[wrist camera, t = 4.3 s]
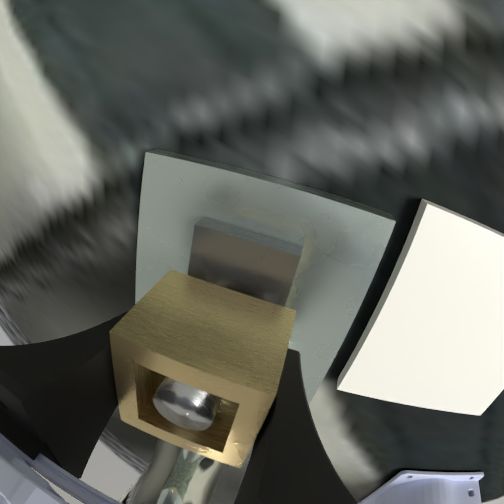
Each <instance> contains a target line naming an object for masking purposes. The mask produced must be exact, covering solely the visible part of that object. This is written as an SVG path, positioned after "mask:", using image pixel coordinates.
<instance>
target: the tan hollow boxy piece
mask: <svg viewBox="0 0 504 504" xmlns="http://www.w3.org/2000/svg"><path fill="white" fill-rule="evenodd" d="M295 315H296V310H293V309H290V308H287V307H283V306H280V305H277V304H274V303H271V302H267V301H264V300H261V299H258V298H255V297H252V296H249V295H246V294H243V293H239V292H236V291H233V290H230V289H227V288H224V287H221V286H218V285H215V284H212V283H209V282H206V281H203V280H201V279H198V278H195V277H192V276H189V275H186V274H183V273H180V272H177V271H175V270H172V269H170V270H169V271H168V272H167V273H166V274H165V275H164V276H163V277H162V278H161V279H160V280H159V281H158V282H157V283H156V284H155V285H154V286H153V287H152V288H151V289H150V290H149V291H148V292H147V293H146V294H145V295H144V296H143V297H142V298H141V299H140V300H139V301H138V302H137V303H136V304H135V305H134V307H133V308H132V309H131V310H130V311H129V312H128V313H127V314H126V315H125V316H124V317H123V318H122V319H121V320H120V321H119V322H118V323H117V324H116V325H115V326H114V327H113V328H112V329H111V330H110V331H109V333H110V344H111V353H112V362H113V370H114V378H115V385H116V392H117V398H118V405H119V410H120V416H121V420H122V421H124V422H126V423H128V424H130V425H132V426H134V427H136V428H138V429H140V430H142V431H144V432H147V433H149V434H151V435H153V436H155V437H158V438H160V439H162V440H164V441H167V442H169V443H171V444H174V445H176V446H179V447H181V448H184V449H186V450H189V451H191V452H194V453H197V454H199V455H202V456H205V457H208V458H210V459H213V460H216V461H219V462H222V463H225V464H228V465H231V466H234V467H238V468H241V466H242V464H243V462H244V460H245V458H246V457H247V455H248V453H249V451H250V449H251V447H252V445H253V443H254V441H255V439H256V436H257V434H258V432H259V430H260V428H261V426H262V424H263V422H264V420H265V418H266V416H267V414H268V411H269V409H270V407H271V405H272V403H273V401H274V399H275V396H276V393H277V389H278V385H279V381H280V378H281V374H282V370H283V366H284V362H285V358H286V353H287V349H288V345H289V341H290V337H291V333H292V328H293V324H294V320H295ZM166 376H167V377H169V378H172V379H174V380H177V381H179V382H181V383H184V384H187V385H189V386H192V387H194V388H197V389H199V390H202V391H205V392H207V393H210V394H213V395H216V396H218V397H221V398H223V399H222V401H221V403H220V406H219V408H218V410H217V412H216V415H215V417H214V419H213V422H212V424H211V426H210V427H209V428H207V429H205V430H199V431H196V430H189V429H185V428H182V427H180V426H177V425H175V424H173V423H172V422H170V421H169V420H167V419H166V418H165V417H163V416H162V415H161V414H160V413H159V411H158V410H157V409H156V407H155V405H154V402H153V396H154V394H155V393H156V391H157V390H158V388H159V387H160V385H161V383H162V382H163V380H164V379H165V377H166Z"/></svg>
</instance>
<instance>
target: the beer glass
mask: <svg viewBox="0 0 504 504" xmlns="http://www.w3.org/2000/svg"><path fill="white" fill-rule="evenodd" d="M228 466H229V465H228V464H225V463H222V462H219V461H216V460H213V459H210V458H208V457H205V456H202V455H199V454H197V453H194V452H191V451H189V450H186V449H184V448H181V447H179V446H176V445H174V444H171V443H169V442H167V441H164V440H162V439H160V438H158V440H157V444H156V447H155V450H154V453H153V456H152V458H151V460H150V462H149V464H148V465H147V467H146V469H145V470H144V472H143V473H142V474H141V475H140V477H139V478H138V479H137V480H136V482H135V483H134V484H133V485H132V486H131V488H129V490H128V491H127V492H126V493H125V494H124V495H123V496H122V497H121V498H120V500H119V501H118V502H120V503H122V504H211V503H212V499H213V496H214V493H215V490H216V487H217V485H218V483H219V481H220V479H221V477H222V476H223V474H224V472H225V471H226V469H227V468H228Z"/></svg>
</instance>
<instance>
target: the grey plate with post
mask: <svg viewBox="0 0 504 504" xmlns="http://www.w3.org/2000/svg"><path fill="white" fill-rule="evenodd" d="M395 223H396V221H395V219H394V217H393V215H392V214H391V213H388V212H385V211H383V210H380V209H377V208H374V207H371V206H368V205H365V204H362V203H359V202H356V201H353V200H350V199H347V198H344V197H340V196H337V195H334V194H331V193H328V192H324V191H321V190H318V189H315V188H311V187H308V186H304V185H301V184H298V183H294V182H291V181H287V180H284V179H280V178H277V177H273V176H269V175H266V174H262V173H258V172H254V171H251V170H247V169H243V168H239V167H235V166H231V165H227V164H223V163H219V162H215V161H210V160H206V159H202V158H198V157H193V156H189V155H184V154H180V153H175V152H170V151H166V150H161V149H155V150H151V151H147V152H146V153H145V161H144V169H143V178H142V188H141V198H140V210H139V223H138V238H137V258H136V294H135V304H136V303H137V302H138V301H139V300H140V299H141V298H142V297H143V296H144V295H145V294H146V293H147V292H148V291H149V290H150V289H151V288H152V287H153V286H154V285H155V284H156V283H157V282H158V281H159V280H160V279H161V278H162V277H163V276H164V275H165V274H166V273H167V272H168V271H169V270H170V269H172V270H175V271H177V272H180V273H183V274H186V275H189V276H192V277H195V278H198V279H201V280H203V281H206V282H209V283H212V284H215V285H218V286H221V287H224V288H227V289H230V290H233V291H236V292H239V293H243V294H246V295H249V296H252V297H255V298H258V299H261V300H264V301H267V302H271V303H274V304H277V305H280V306H283V307H287V308H290V309H293V310H296V315H295V320H294V324H293V328H292V333H291V337H290V341H289V345H288V348H289V349H293V350H296V351H299V353H300V359H301V370H302V377H303V383H304V388H305V392H306V397H307V401H308V405H309V403H310V401H311V400H312V398H313V396H314V394H315V393H316V391H317V389H318V387H319V386H320V384H321V382H322V380H323V378H324V377H325V375H326V373H327V371H328V369H329V368H330V366H331V364H332V362H333V360H334V358H335V356H336V354H337V352H338V351H339V349H340V347H341V345H342V343H343V341H344V339H345V337H346V335H347V333H348V331H349V329H350V327H351V325H352V323H353V321H354V318H355V316H356V314H357V312H358V310H359V308H360V306H361V304H362V301H363V299H364V297H365V295H366V293H367V290H368V288H369V286H370V284H371V281H372V279H373V277H374V275H375V272H376V270H377V268H378V265H379V263H380V260H381V258H382V256H383V253H384V251H385V248H386V246H387V243H388V241H389V238H390V236H391V233H392V230H393V228H394V225H395ZM222 399H223V398H221V397H218V396H216V395H213V394H210V393H207V392H205V391H202V390H199V389H197V388H194V387H192V386H189V385H187V384H184V383H181V382H179V381H177V380H174V379H172V378H169V377H167V376H166V377H165V379H164V380H163V382H162V383H161V385H160V387H159V388H158V390H157V391H156V393H155V394H154V396H153V402H154V405H155V407H156V409H157V410H158V411H159V413H160V414H161V415H162V416H163V417H165V418H166V419H167V420H169V421H170V422H172V423H173V424H175V425H177V426H180V427H182V428H185V429H189V430H196V431H199V430H205V429H207V428H209V427H210V426H211V424H212V422H213V419H214V417H215V415H216V412H217V410H218V408H219V406H220V403H221V401H222Z"/></svg>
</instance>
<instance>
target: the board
mask: <svg viewBox="0 0 504 504" xmlns="http://www.w3.org/2000/svg"><path fill="white" fill-rule="evenodd" d="M337 389H338V390H342V391H346V392H350V393H354V394H358V395H363V396H367V397H372V398H376V399H381V400H386V401H391V402H396V403H401V404H406V405H412V406H417V407H423V408H429V409H436V410H442V411H449V412H456V413H464V414H472V415H481V414H482V413H483V412H484V411H485V410H486V409H487V407H488V406H489V405H490V404H491V403H492V402H493V401H494V400H495V398H496V397H497V396H498V395H499V394H500V393H501V391H502V390H503V389H504V234H503V233H500V232H498V231H496V230H494V229H492V228H490V227H488V226H486V225H483V224H481V223H479V222H477V221H475V220H472V219H470V218H468V217H466V216H463V215H461V214H459V213H456V212H454V211H452V210H449V209H447V208H444V207H442V206H439V205H437V204H435V203H432V202H430V201H427V200H424V199H422V200H421V203H420V205H419V208H418V211H417V213H416V216H415V219H414V221H413V224H412V227H411V229H410V232H409V234H408V237H407V239H406V242H405V244H404V246H403V249H402V251H401V254H400V256H399V258H398V261H397V263H396V265H395V268H394V270H393V272H392V274H391V277H390V279H389V281H388V283H387V285H386V287H385V290H384V292H383V294H382V296H381V298H380V300H379V302H378V304H377V306H376V308H375V310H374V312H373V314H372V316H371V318H370V320H369V322H368V324H367V326H366V328H365V330H364V332H363V334H362V336H361V338H360V340H359V342H358V343H357V345H356V347H355V349H354V351H353V353H352V354H351V356H350V358H349V360H348V362H347V363H346V365H345V367H344V369H343V370H342V372H341V374H340V375H339V377H338V382H337Z"/></svg>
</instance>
